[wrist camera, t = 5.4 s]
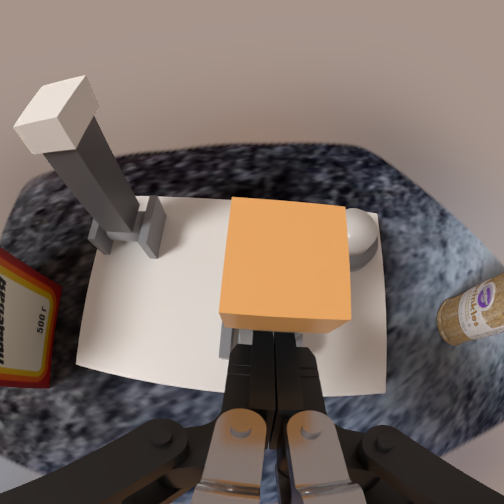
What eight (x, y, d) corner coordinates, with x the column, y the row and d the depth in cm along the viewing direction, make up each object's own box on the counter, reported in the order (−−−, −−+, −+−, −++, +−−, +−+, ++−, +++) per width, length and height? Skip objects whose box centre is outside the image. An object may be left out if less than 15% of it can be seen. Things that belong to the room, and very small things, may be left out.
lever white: (153, 217, 22) (86, 74, 10) (145, 251, 21) (56, 117, 9) (121, 215, 22) (41, 86, 10) (112, 248, 21) (13, 127, 9)
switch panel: (364, 229, 26) (390, 195, 20) (369, 391, 20) (404, 394, 15) (124, 213, 26) (100, 176, 20) (94, 366, 20) (54, 361, 15)
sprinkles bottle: (433, 298, 23) (540, 234, 11) (467, 299, 23) (568, 244, 11) (435, 347, 21) (554, 311, 9) (469, 345, 21) (579, 309, 9)
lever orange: (283, 314, 19) (345, 206, 7) (280, 357, 18) (351, 319, 6) (240, 311, 19) (231, 197, 7) (236, 354, 18) (218, 312, 6)
